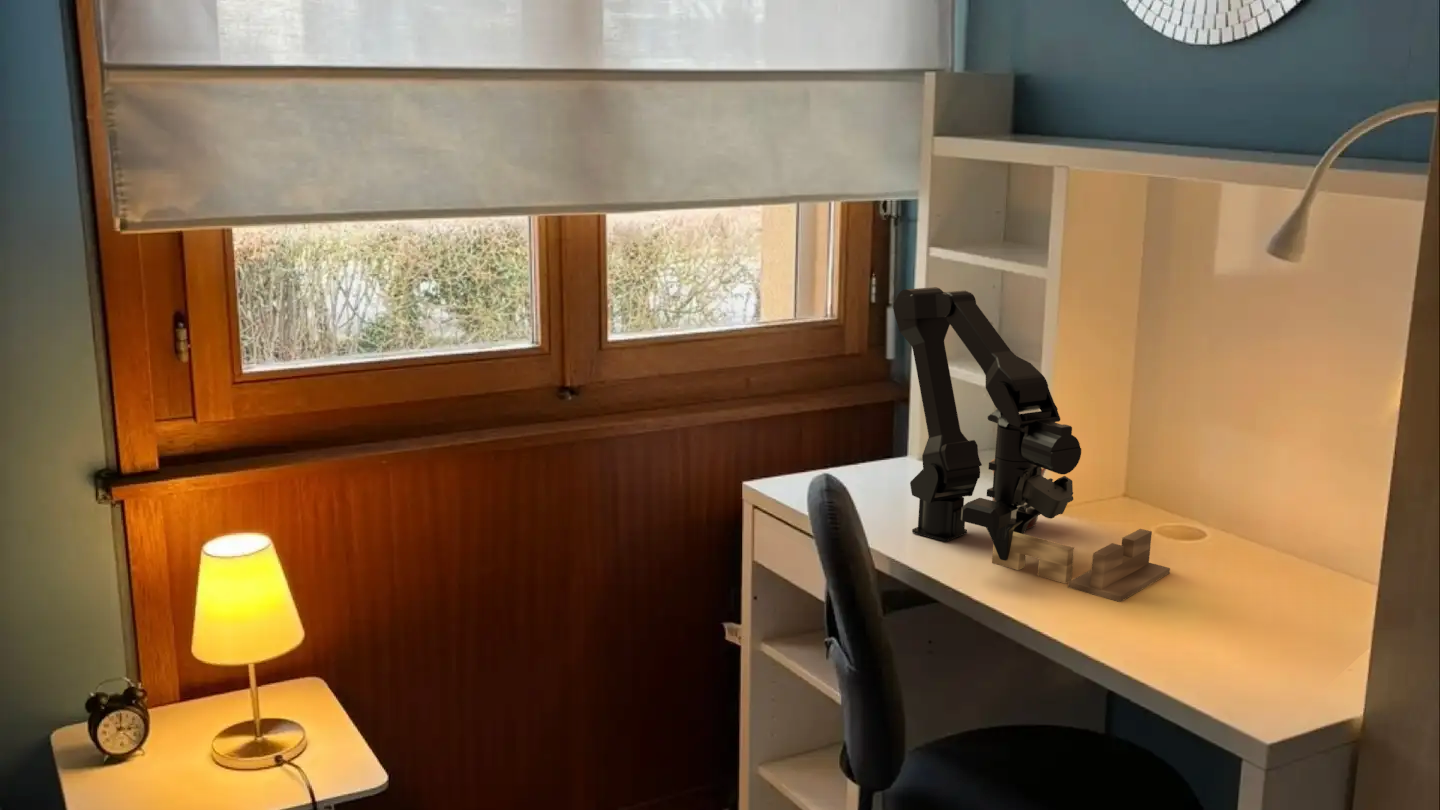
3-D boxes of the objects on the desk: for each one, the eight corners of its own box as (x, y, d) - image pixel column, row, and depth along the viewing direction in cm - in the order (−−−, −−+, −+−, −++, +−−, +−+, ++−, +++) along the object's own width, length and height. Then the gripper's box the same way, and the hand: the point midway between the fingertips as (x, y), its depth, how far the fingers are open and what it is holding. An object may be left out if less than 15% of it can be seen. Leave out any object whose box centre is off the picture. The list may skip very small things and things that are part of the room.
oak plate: (992, 562, 206) (994, 530, 205) (998, 559, 207) (1000, 528, 206) (1065, 583, 198) (1068, 550, 197) (1071, 580, 199) (1074, 547, 198)
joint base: (1067, 587, 197) (1071, 548, 195) (1118, 559, 208) (1122, 523, 207) (1120, 601, 192) (1124, 562, 190) (1169, 573, 203) (1173, 535, 202)
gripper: (1032, 481, 189) (1023, 588, 193) (1095, 455, 203) (1086, 556, 207) (962, 464, 196) (955, 568, 200) (1028, 441, 210) (1020, 538, 214)
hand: (1007, 558), depth 205 cm, fingers closed on oak plate, 2 cm apart
